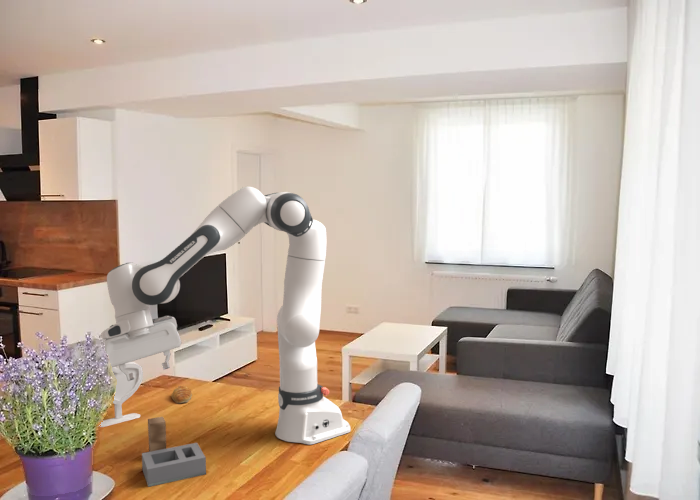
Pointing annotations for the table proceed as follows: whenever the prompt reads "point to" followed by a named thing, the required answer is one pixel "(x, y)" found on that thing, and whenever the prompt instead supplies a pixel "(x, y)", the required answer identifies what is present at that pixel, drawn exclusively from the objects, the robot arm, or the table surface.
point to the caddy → (173, 464)
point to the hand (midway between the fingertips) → (149, 374)
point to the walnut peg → (157, 434)
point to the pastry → (181, 394)
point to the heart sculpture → (124, 392)
